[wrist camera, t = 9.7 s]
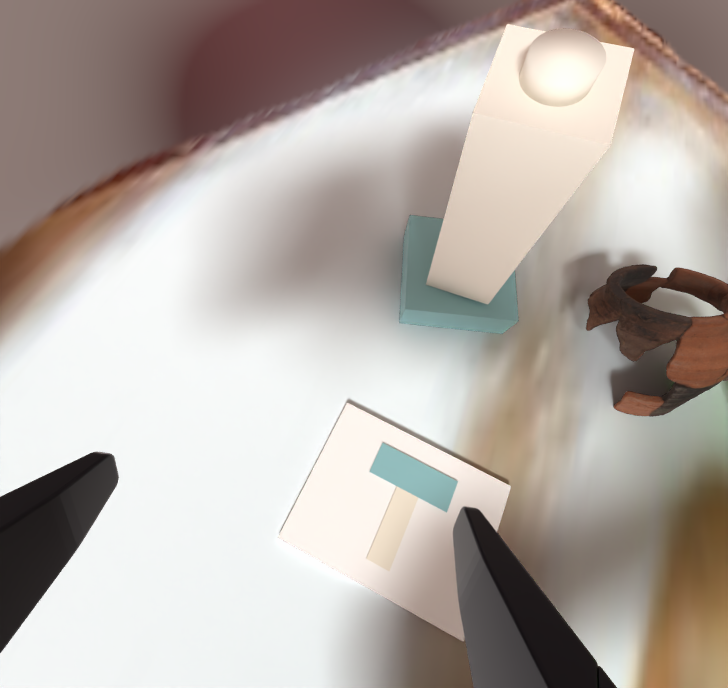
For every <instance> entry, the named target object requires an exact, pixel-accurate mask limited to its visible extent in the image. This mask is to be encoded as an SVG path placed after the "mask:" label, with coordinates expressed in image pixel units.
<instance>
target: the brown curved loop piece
mask: <svg viewBox="0 0 728 688" xmlns="http://www.w3.org/2000/svg"><path fill="white" fill-rule="evenodd" d="M656 270H657V267H656V266H650V265H644V264H642V265H632V266H628V267H624V268H621V269H618V270H616V271H615V272H613V273H612V274H611V276H609V278H608V279H607V284H606V285H604V286H602V287H600V288H599V289H597V290H595V291H594V292H593V293H592V294H591V295H590V298H589V299H588V306H589V309H590V312H589V318H588V320H587V326H586V330H588V331H589V330H592V329H593V328H595V327H597V326H599V325H602V324H606V323H610V322H613V321H617V320H619V322H618V324H617V327H616V332H617V337H618V339H619V342H620V351H621V353H622V354H623V355H624V356H626V357H627V358H628V359H629V360H631V361H637V360H638V359H639V358H640V357H641V356H642V355H643V354H644V352H645V351H648V350H651V349H654V348H656V347H658V346H660V345H662V344H665V343H668V342H671V341H674V340H677V343H676V350H675V352H674V354H673V356H672V358H671V359H670V361H669V362H668V364H667V366H666V370H667V371H666V375H667V378H668V379H670V380H671V381H673V382H675V383H674V384H673V385H672V387H671V389H670V390H669V392H668V393H667V394H665V395H663V396H662V397H659V396H650V395H644V394H640V393H636V392H632V391H627V392H625V394H624V395H623V397H622V399H621V400H620V401H619V402H617V403H616V404H615V405H614V408H615V409H616V410H618V411H621V412H624V413H627V414H632V415H637V416H659V415H664V414H667V413H669V412H671V411H672V410H674V409H675V408H677V407H679V406H680V405H682V404H684V403H685V402H687V401H689V400H690V399H693V398H695V397H697V396H698V395H699V394H701V393H703V392H705V391H707V390H709V389H711V388H712V387H714V386H715V385H717V384H718V383H720V382H721V381H722V380H723V381H724V380H728V284H726V283H725V282H723V281H721V280H718V279H716V278H714V277H711V276H708V275H706V274H702V273H699V272H696V271H692V270H688V269H684V268H674V270H673V271H672V272H671V273H670V276H669V277H668V278H660V277H651V276H652V275H653V274H654V273H655V272H656ZM659 287H662V288H668V289H672V290H676V291H680V292H684V293H688V294H691V295H694V296H695V297H697V298H699V299H701V300H703V301H705V302H708V303H710V304H711V305H713V306H714V307H715V308H717V309H718V310H719V311H723V313H724V314H722V315H717V316H712V317H686V316H681V315H676V314H671V313H667V312H663V311H660V310H657V309H654V308H651V307H649V306H646V305H644V304H642V303H644V302H647V301H648V300H649V299H650V297H651V294H652V292H653V291H655V290H656V289H657V288H659Z"/></svg>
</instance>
